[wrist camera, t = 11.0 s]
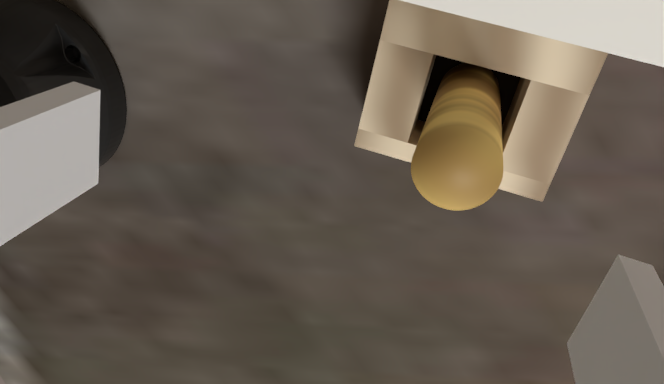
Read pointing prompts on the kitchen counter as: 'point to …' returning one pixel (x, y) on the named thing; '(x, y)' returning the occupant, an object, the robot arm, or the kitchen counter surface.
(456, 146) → the peg
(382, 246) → the kitchen counter surface
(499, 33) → the socket block
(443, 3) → the awning
